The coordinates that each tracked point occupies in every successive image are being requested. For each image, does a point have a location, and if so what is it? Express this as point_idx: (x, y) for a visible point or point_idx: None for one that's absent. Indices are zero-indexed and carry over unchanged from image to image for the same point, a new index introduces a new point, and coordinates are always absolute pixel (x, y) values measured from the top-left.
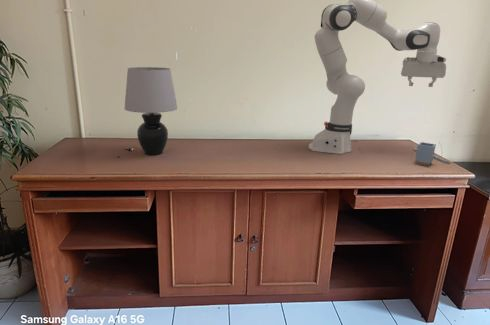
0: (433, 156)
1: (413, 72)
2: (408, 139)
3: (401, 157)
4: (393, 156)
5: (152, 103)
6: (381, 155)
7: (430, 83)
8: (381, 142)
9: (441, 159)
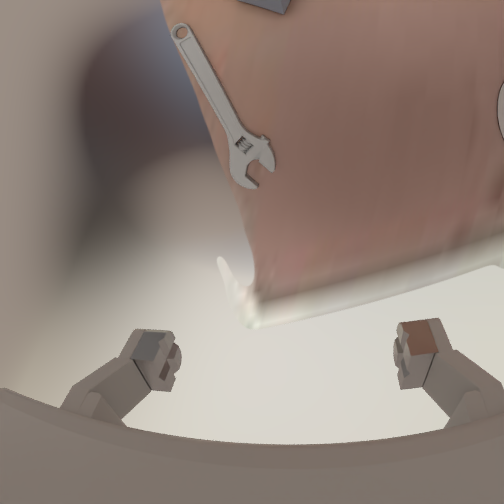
0: (215, 77)
1: (500, 489)
2: (262, 313)
3: (339, 44)
4: (368, 50)
5: None
6: (410, 55)
7: (149, 359)
8: (373, 247)
9: (195, 42)
